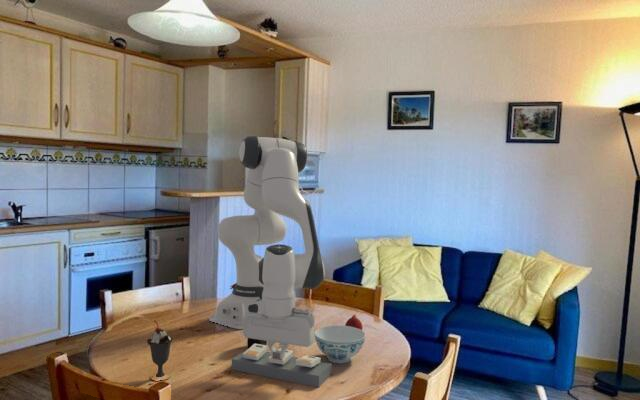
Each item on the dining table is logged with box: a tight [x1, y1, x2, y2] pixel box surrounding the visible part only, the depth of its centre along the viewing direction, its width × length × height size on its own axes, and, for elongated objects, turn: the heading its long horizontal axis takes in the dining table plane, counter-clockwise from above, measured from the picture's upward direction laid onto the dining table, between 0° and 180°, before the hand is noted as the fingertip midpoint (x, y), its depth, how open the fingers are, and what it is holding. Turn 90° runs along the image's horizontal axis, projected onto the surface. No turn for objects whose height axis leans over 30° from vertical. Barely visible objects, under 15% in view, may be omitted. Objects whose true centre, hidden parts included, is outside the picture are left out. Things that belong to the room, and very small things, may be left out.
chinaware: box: [314, 324, 366, 364], centre depth 144 cm, size 15×15×8 cm
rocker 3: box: [296, 354, 322, 367], centre depth 131 cm, size 4×6×2 cm
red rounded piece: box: [344, 314, 363, 331], centre depth 163 cm, size 6×6×8 cm
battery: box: [246, 338, 268, 350], centre depth 151 cm, size 4×7×10 cm, turn 169°
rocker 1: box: [243, 344, 269, 360], centre depth 137 cm, size 4×6×2 cm
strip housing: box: [231, 348, 333, 388], centre depth 134 cm, size 26×9×3 cm, turn 67°
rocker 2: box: [269, 348, 295, 365], centre depth 134 cm, size 4×6×2 cm
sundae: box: [146, 320, 174, 377], centre depth 128 cm, size 7×7×15 cm
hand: (277, 357), depth 131 cm, fingers closed, pressing on rocker 2
